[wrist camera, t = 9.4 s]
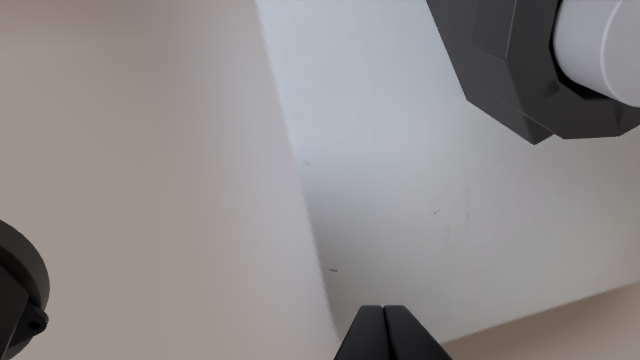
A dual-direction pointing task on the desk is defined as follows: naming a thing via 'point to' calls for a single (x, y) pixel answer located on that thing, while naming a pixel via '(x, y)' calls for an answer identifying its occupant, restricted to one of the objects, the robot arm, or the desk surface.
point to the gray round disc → (600, 46)
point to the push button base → (523, 71)
